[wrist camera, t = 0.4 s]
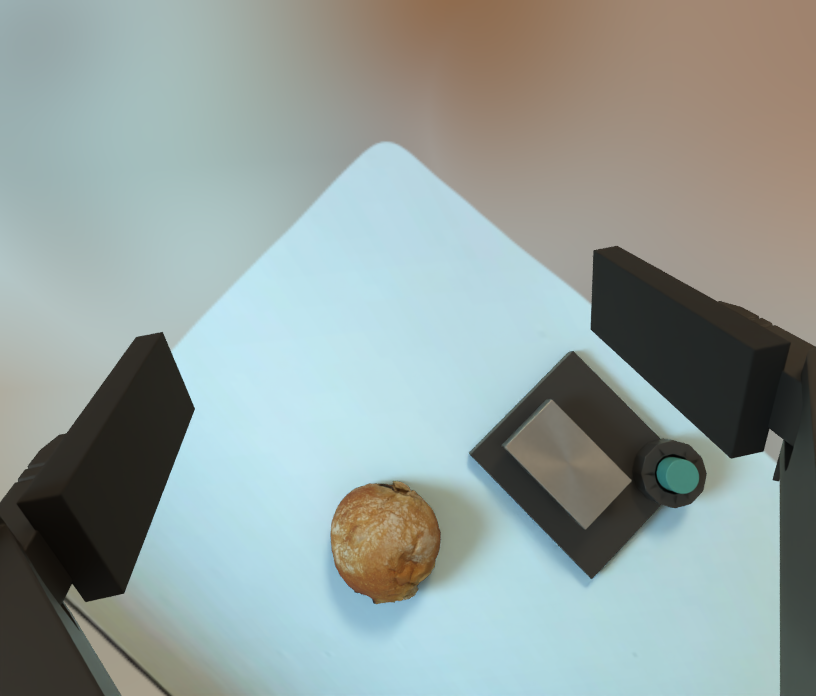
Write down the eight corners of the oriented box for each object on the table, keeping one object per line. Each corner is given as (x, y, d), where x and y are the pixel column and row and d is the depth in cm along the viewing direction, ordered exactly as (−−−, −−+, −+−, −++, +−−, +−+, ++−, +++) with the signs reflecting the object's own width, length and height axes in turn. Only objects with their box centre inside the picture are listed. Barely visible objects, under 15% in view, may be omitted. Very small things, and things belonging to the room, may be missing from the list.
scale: (699, 469, 50) (719, 474, 47) (594, 582, 48) (607, 594, 45) (575, 344, 50) (587, 342, 47) (468, 453, 49) (473, 457, 46)
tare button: (694, 473, 47) (706, 476, 45) (672, 497, 47) (683, 501, 45) (671, 450, 47) (682, 452, 45) (649, 473, 47) (659, 476, 45)
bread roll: (436, 493, 52) (444, 470, 45) (438, 606, 47) (447, 600, 40) (338, 492, 52) (331, 468, 45) (329, 605, 46) (320, 598, 40)
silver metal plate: (624, 477, 46) (632, 480, 45) (579, 525, 46) (585, 530, 44) (546, 398, 47) (551, 399, 45) (500, 445, 46) (504, 447, 45)
